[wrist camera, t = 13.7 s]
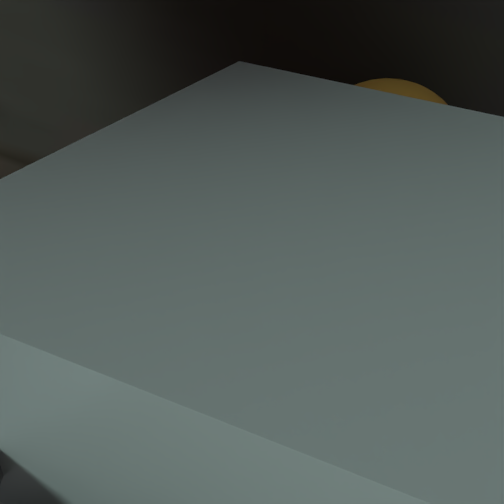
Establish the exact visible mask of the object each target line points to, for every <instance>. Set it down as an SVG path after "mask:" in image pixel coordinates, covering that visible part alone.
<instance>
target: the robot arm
mask: <svg viewBox="0 0 504 504" xmlns="http://www.w3.org/2000/svg"><path fill="white" fill-rule="evenodd" d="M3 476H4V475H3V472H2V469H1V466H0V484H1V481H2V478H3Z"/></svg>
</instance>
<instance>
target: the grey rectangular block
mask: <svg viewBox="0 0 504 504" xmlns="http://www.w3.org/2000/svg"><path fill="white" fill-rule="evenodd" d="M0 466H1V469H2V472H3V475H4V476H3V478H2V481H1V484H0V504H504V117H501V116H497V115H492V114H487V113H482V112H478V111H473V110H468V109H463V108H459V107H454V106H449V105H445V104H440V103H435V102H430V101H426V100H421V99H416V98H411V97H407V96H402V95H397V94H393V93H388V92H383V91H378V90H374V89H369V88H364V87H359V86H355V85H350V84H345V83H340V82H336V81H331V80H326V79H322V78H317V77H312V76H307V75H303V74H298V73H293V72H288V71H284V70H279V69H274V68H270V67H265V66H260V65H255V64H251V63H246V62H241V61H238V62H236V63H234V64H232V65H230V66H228V67H226V68H224V69H222V70H220V71H218V72H216V73H214V74H212V75H210V76H208V77H206V78H204V79H202V80H200V81H198V82H196V83H194V84H192V85H190V86H188V87H186V88H184V89H182V90H180V91H178V92H176V93H174V94H172V95H170V96H168V97H166V98H164V99H162V100H160V101H158V102H156V103H154V104H151V105H149V106H147V107H145V108H143V109H141V110H139V111H137V112H135V113H133V114H131V115H129V116H127V117H125V118H123V119H121V120H119V121H117V122H115V123H113V124H111V125H109V126H107V127H105V128H103V129H101V130H99V131H97V132H95V133H93V134H91V135H89V136H87V137H85V138H83V139H81V140H79V141H77V142H75V143H73V144H71V145H69V146H67V147H65V148H62V149H60V150H58V151H56V152H54V153H52V154H50V155H48V156H46V157H44V158H42V159H40V160H38V161H36V162H34V163H32V164H30V165H28V166H26V167H24V168H22V169H20V170H18V171H16V172H14V173H12V174H10V175H8V176H6V177H4V178H2V179H0Z"/></svg>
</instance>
